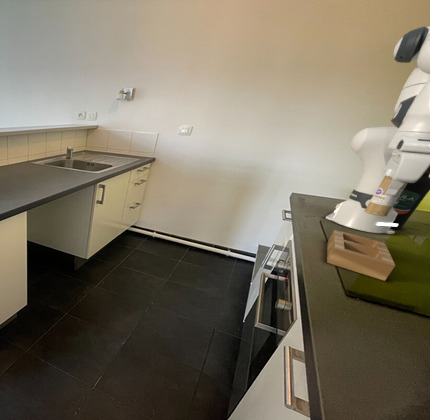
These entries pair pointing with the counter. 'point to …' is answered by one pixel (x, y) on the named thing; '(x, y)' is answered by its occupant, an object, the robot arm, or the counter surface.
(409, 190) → the wine bottle
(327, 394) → the counter surface
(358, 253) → the hole block
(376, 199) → the sprinkles bottle
